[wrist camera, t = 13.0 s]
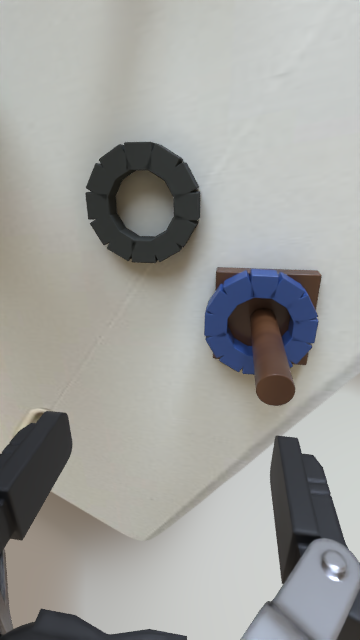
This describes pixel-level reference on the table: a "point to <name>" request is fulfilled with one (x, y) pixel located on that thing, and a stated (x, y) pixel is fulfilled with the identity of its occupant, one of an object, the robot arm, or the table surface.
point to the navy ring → (259, 287)
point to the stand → (268, 334)
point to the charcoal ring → (104, 201)
